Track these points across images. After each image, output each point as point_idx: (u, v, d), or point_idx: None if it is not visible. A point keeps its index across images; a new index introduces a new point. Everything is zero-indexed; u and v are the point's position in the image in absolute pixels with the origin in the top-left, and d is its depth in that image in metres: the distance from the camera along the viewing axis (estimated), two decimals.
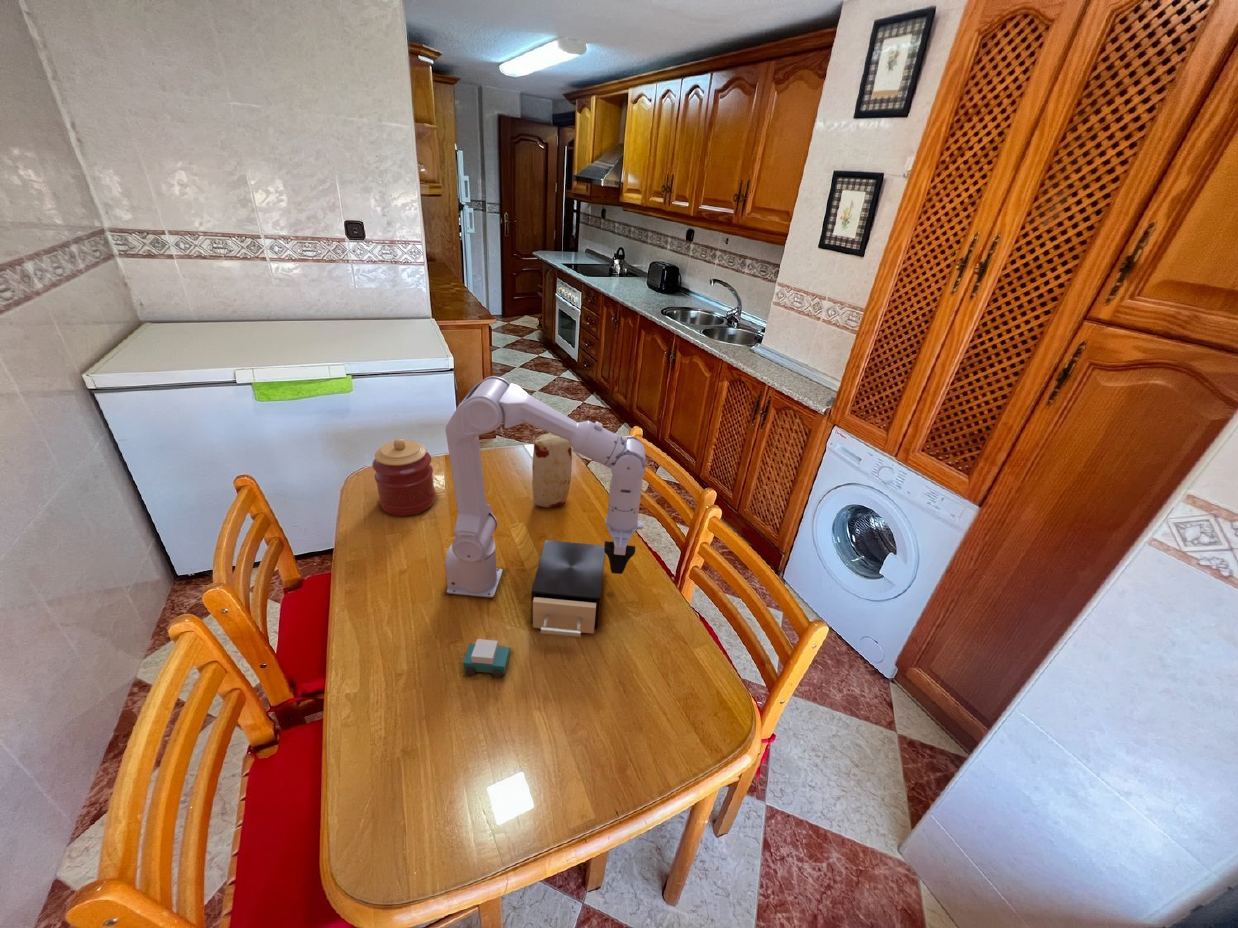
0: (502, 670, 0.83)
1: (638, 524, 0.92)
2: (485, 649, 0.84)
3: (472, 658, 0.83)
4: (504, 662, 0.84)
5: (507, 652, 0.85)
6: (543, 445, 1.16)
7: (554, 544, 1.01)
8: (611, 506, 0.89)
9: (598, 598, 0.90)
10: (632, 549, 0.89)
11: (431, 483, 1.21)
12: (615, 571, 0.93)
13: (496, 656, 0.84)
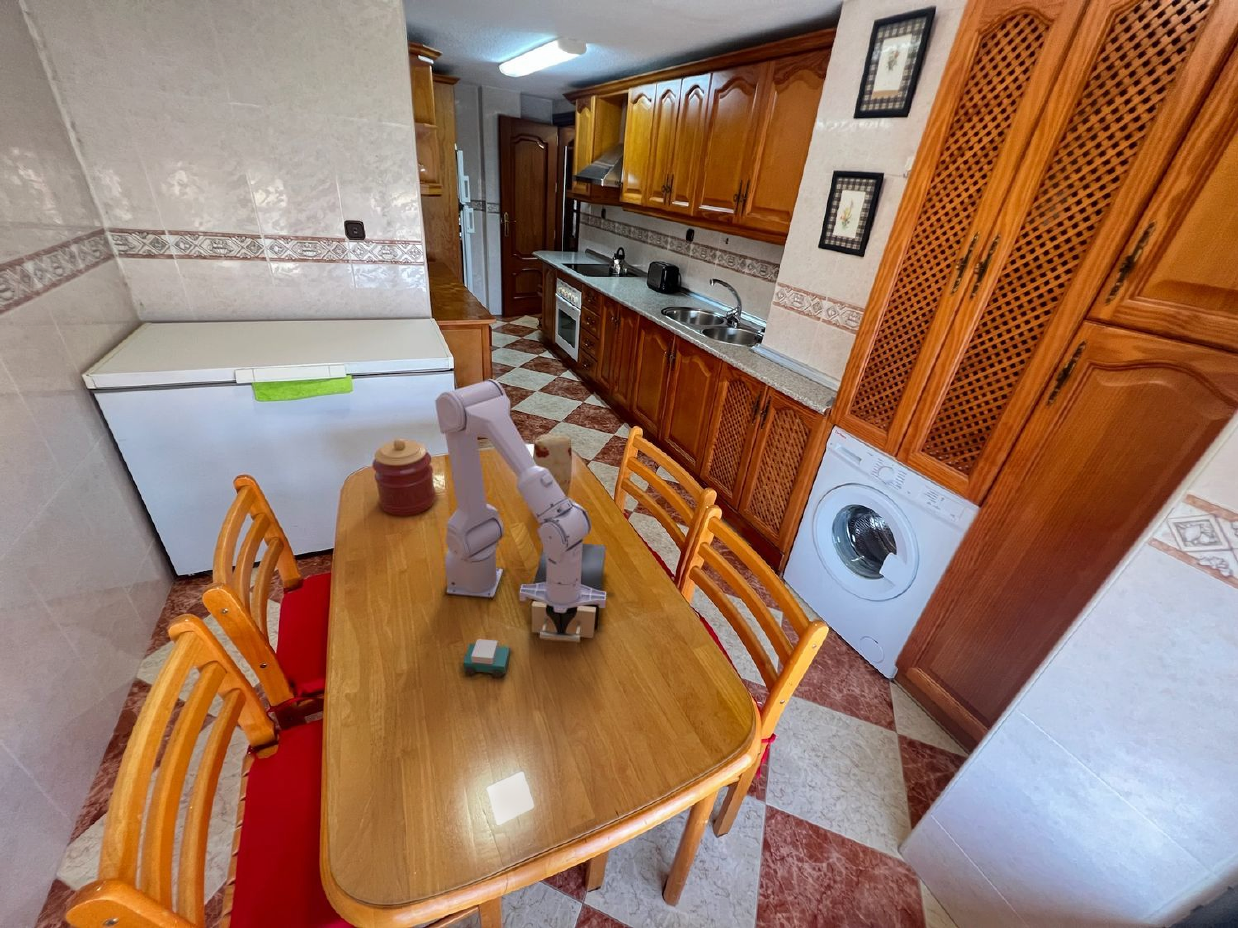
0: (502, 670, 0.83)
1: (557, 605, 0.81)
2: (485, 649, 0.84)
3: (472, 658, 0.83)
4: (504, 662, 0.84)
5: (507, 652, 0.85)
6: (543, 445, 1.16)
7: None
8: None
9: None
10: (552, 611, 0.83)
11: (431, 483, 1.21)
12: None
13: (496, 656, 0.84)
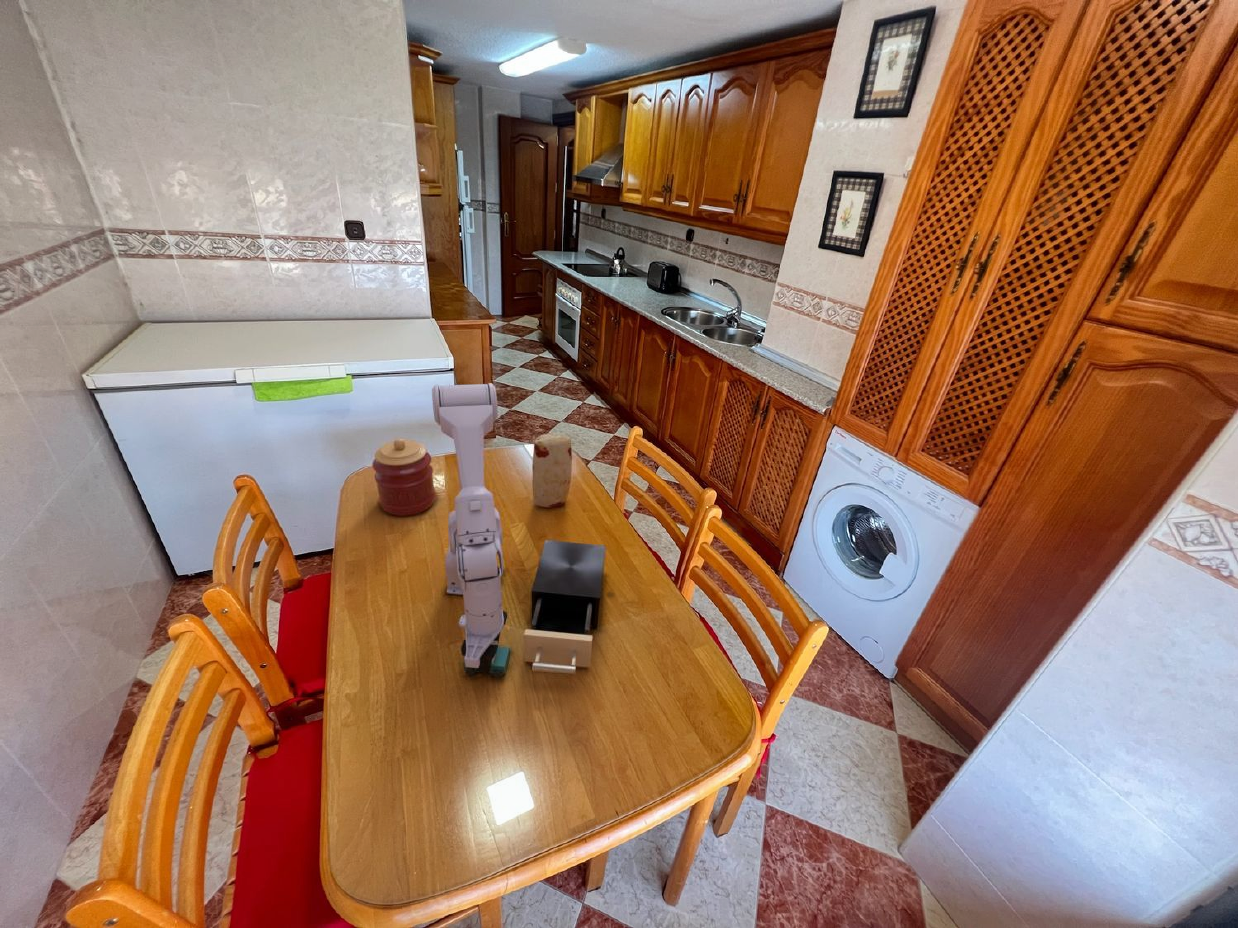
0: (502, 670, 0.83)
1: (466, 617, 0.81)
2: None
3: None
4: (504, 662, 0.84)
5: (507, 652, 0.85)
6: (543, 445, 1.16)
7: (554, 544, 1.01)
8: None
9: (598, 598, 0.90)
10: None
11: (431, 483, 1.21)
12: None
13: (496, 656, 0.84)
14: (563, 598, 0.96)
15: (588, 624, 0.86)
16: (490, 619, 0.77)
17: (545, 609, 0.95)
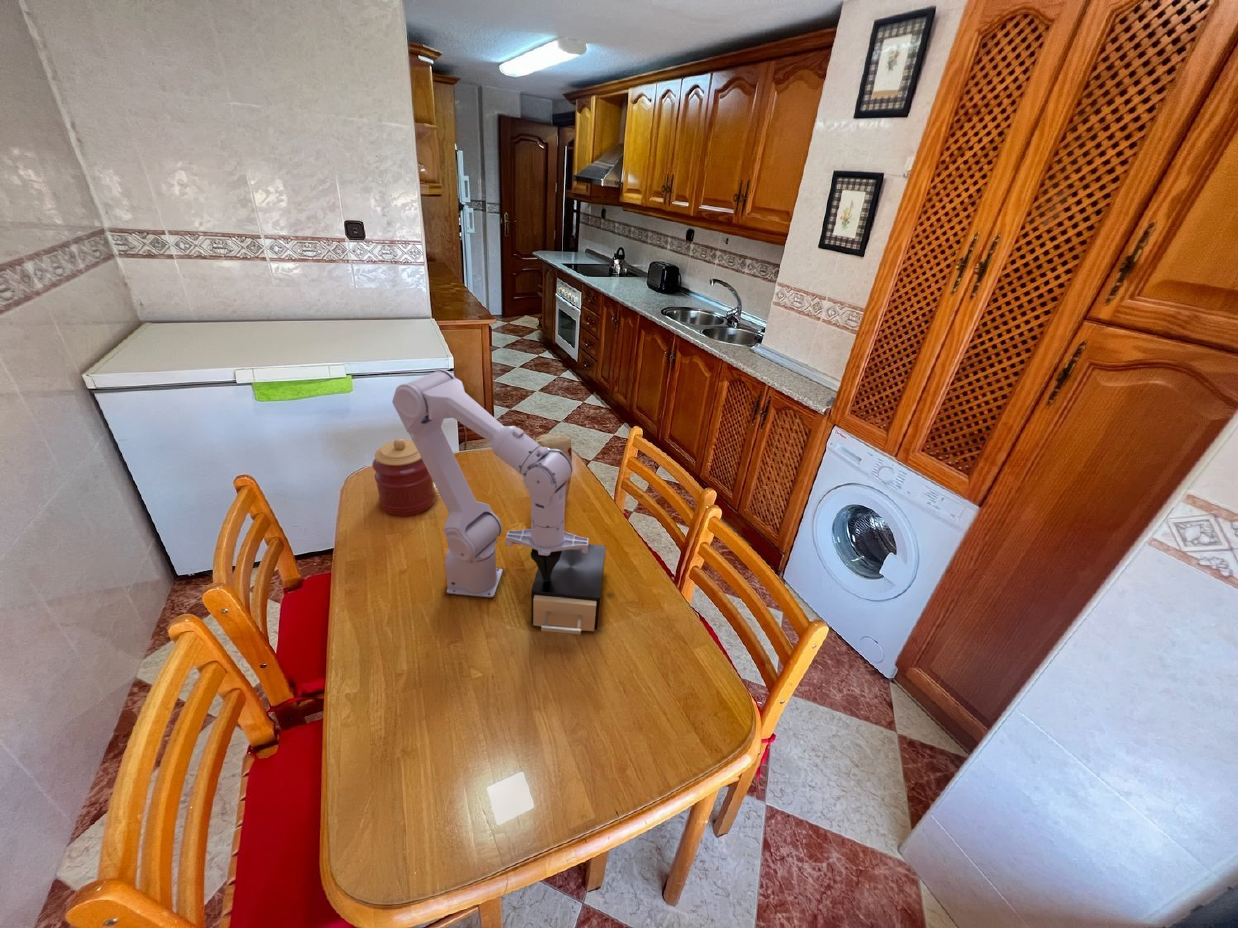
0: None
1: (541, 548, 0.85)
2: None
3: None
4: None
5: None
6: (543, 445, 1.16)
7: None
8: None
9: (598, 598, 0.90)
10: (537, 555, 0.87)
11: (431, 483, 1.21)
12: None
13: None
14: None
15: None
16: None
17: None
